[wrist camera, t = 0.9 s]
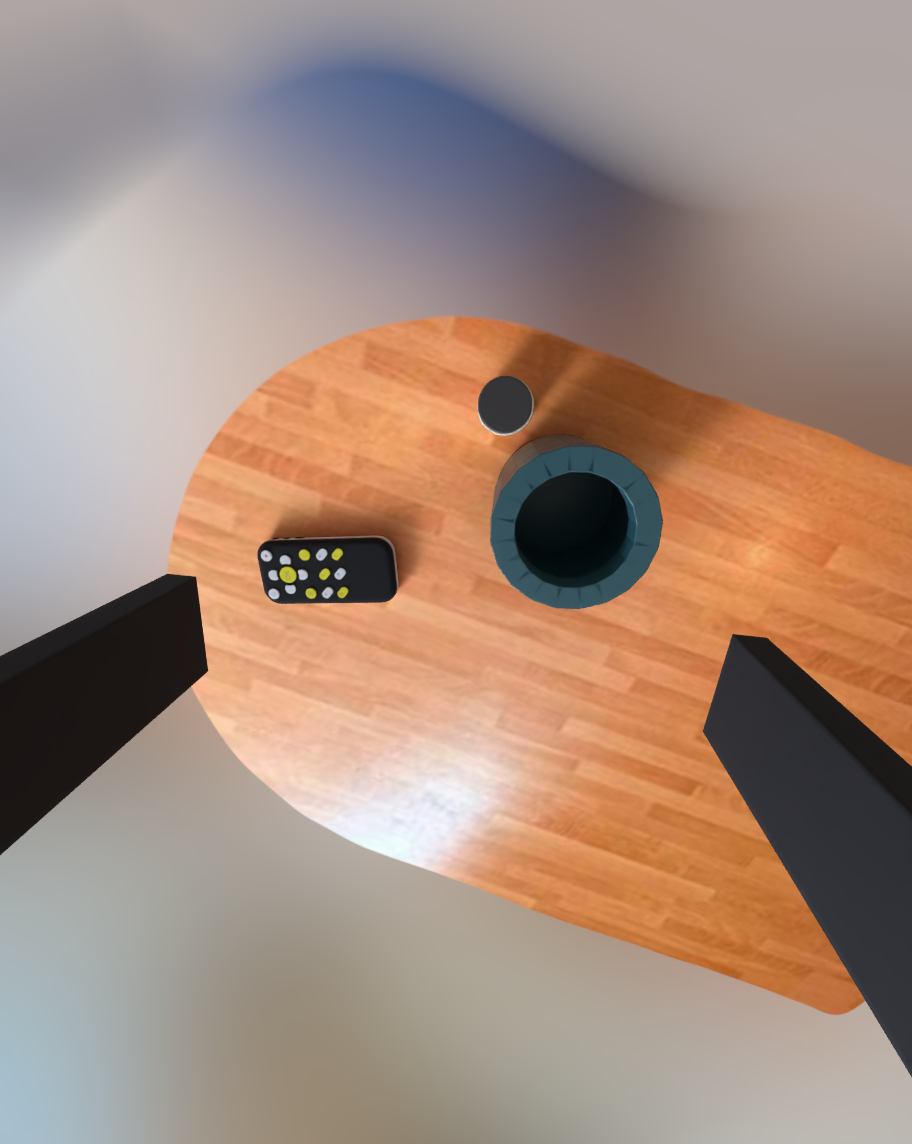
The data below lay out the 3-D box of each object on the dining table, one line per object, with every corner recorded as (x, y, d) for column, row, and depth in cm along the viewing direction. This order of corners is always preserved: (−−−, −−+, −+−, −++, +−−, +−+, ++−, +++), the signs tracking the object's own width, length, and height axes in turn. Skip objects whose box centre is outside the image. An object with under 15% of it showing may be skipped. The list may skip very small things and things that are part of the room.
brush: (490, 372, 37) (471, 328, 16) (538, 389, 37) (578, 366, 16) (474, 422, 38) (437, 441, 18) (520, 438, 38) (536, 475, 18)
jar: (520, 417, 38) (526, 421, 27) (638, 458, 38) (693, 480, 27) (478, 531, 41) (468, 578, 30) (587, 569, 41) (617, 630, 30)
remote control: (401, 596, 44) (396, 605, 42) (274, 598, 46) (264, 606, 44) (395, 533, 42) (389, 539, 40) (261, 537, 44) (250, 543, 42)
